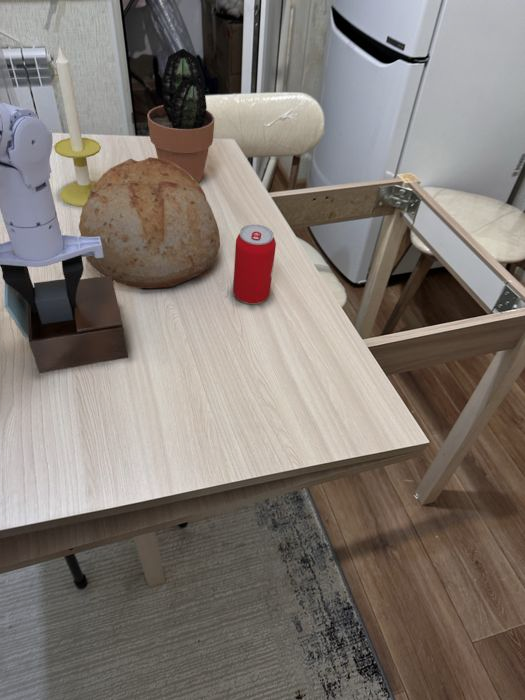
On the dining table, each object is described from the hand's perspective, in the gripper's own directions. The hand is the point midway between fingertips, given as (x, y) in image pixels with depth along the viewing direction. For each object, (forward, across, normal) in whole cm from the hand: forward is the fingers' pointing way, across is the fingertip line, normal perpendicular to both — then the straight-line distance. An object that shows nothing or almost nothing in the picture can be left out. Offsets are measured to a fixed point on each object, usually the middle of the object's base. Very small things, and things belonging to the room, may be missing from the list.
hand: (54, 304), depth 65 cm
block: (+1, 0, 0) cm, 1 cm away
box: (+7, -2, 0) cm, 7 cm away
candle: (+7, -7, -43) cm, 44 cm away
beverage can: (+7, -30, -4) cm, 31 cm away
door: (-2, +4, 0) cm, 5 cm away
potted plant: (+7, -28, -47) cm, 55 cm away
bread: (+7, -16, -21) cm, 27 cm away
